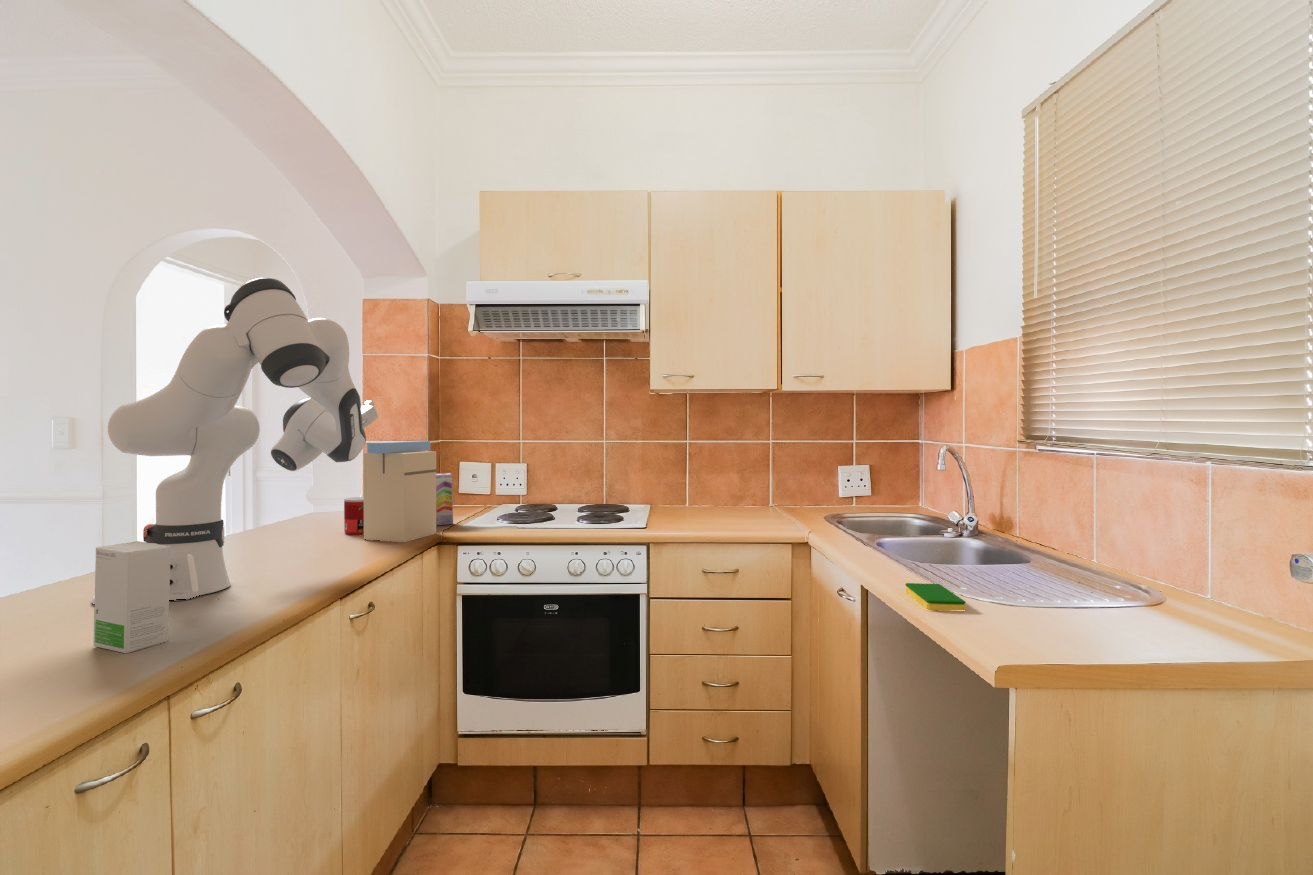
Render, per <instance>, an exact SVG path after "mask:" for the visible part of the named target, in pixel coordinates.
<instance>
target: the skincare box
mask: <svg viewBox="0 0 1313 875" xmlns="http://www.w3.org/2000/svg"><path fill="white" fill-rule="evenodd" d="M170 560H171V547H169V546H164V545H158V544H156V543H146V542H144V541H129V542H124V543H115V544H110V545H103V546H102V545H101V546H97V547H95V563H94V564H95V569H94V571H95V574H94V594H95V605H94V604H93V605H94V608H93V611H94V612H93V614H94V615H93V646H94V647H98V648H100V649H105V650H110V651H114V652H118V653H122V654H123V653H124V654H129V653H133V652H136V651H140V650H144V649H147V648H150V647H153V646H157V645H161V644H164V643H163V642H165V643H167V642H169V621H170V618H169V617H170V601H169V591H170ZM160 643H161V644H160Z"/></svg>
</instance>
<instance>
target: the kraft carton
mask: <svg viewBox="0 0 1313 875" xmlns="http://www.w3.org/2000/svg"><path fill="white" fill-rule="evenodd" d="M362 455H363V458H362V459H363V497H364V534H363V540H364V539H366V540H365V541H373V540H380V541H379V542H390V541H391V542H392V543H394V542H395V543H408V542H411V541H414V540H418V539H422V538H425V537H429V536H433V535H436V534H437V525H436V474H437V451H436V450H435V451H432V450H428V451H413V452H397V453H382V454H372V453H367V452H363V453H362Z"/></svg>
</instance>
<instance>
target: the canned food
mask: <svg viewBox="0 0 1313 875" xmlns="http://www.w3.org/2000/svg"><path fill="white" fill-rule="evenodd" d="M343 502H344V504H343V505H344V506H343V507H344V508H343V515H344V516H343V517H344V518H343V520H344V522H343V523H344V525H343V526H344V527H343V528H344V534H345V535H348V536H360V535H361V536H362V534H363V535H364V496H363V497H362V496H359V497H356V496H354V497H346V498H344V501H343Z"/></svg>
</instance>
